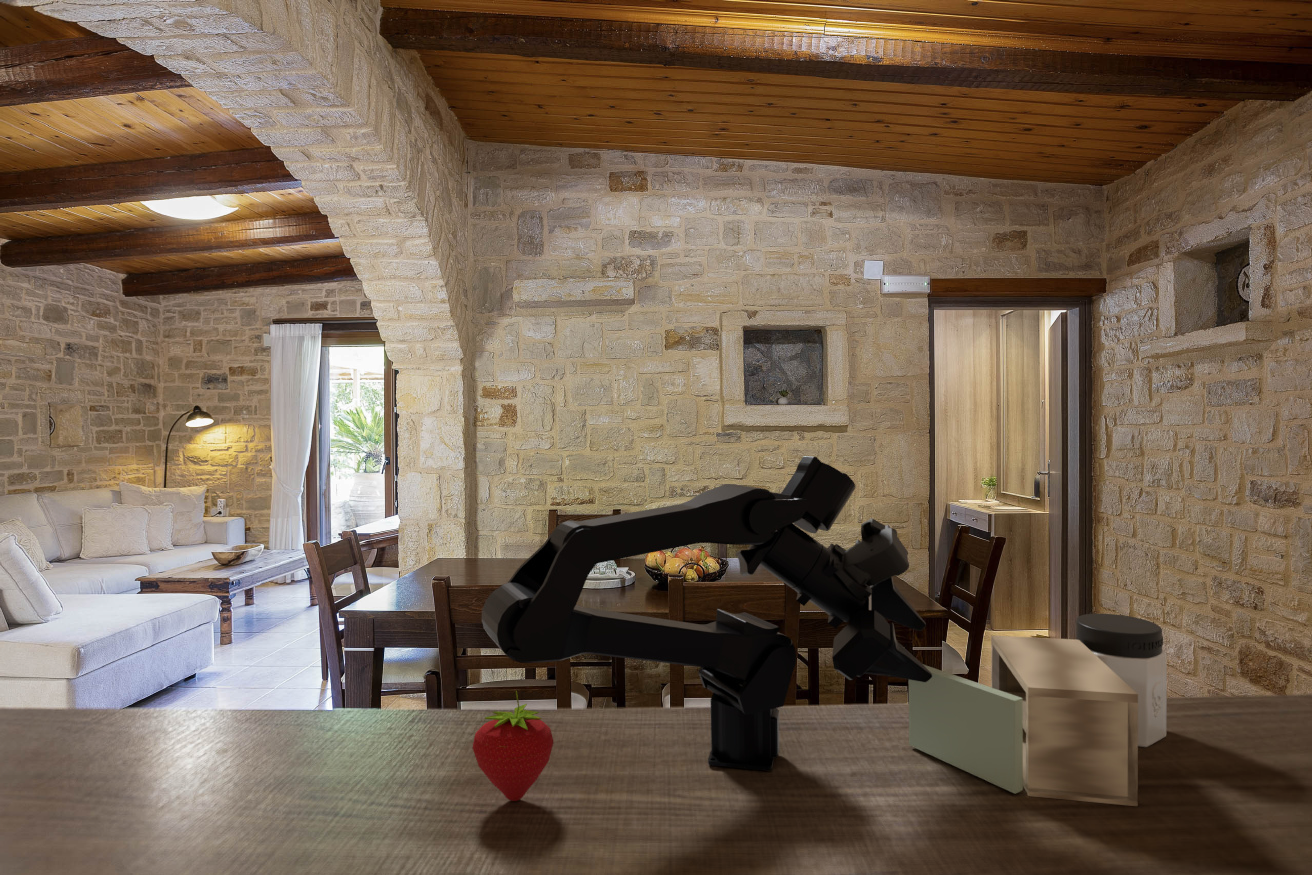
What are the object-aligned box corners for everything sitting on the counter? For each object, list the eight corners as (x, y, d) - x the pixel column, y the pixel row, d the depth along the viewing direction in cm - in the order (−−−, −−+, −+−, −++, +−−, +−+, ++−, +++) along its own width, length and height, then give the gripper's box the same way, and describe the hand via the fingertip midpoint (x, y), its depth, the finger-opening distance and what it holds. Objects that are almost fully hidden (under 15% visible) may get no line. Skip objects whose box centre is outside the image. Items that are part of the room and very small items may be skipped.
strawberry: (482, 783, 72) (479, 683, 72) (558, 782, 72) (556, 682, 72) (466, 817, 66) (463, 707, 66) (550, 815, 66) (547, 706, 66)
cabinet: (1028, 795, 68) (1028, 687, 68) (991, 723, 84) (991, 635, 83) (1137, 806, 66) (1137, 694, 66) (1078, 730, 81) (1078, 639, 81)
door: (1015, 793, 68) (1014, 700, 68) (908, 744, 78) (908, 664, 78) (1022, 789, 68) (1022, 697, 68) (916, 742, 79) (915, 661, 78)
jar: (1139, 754, 76) (1139, 639, 75) (1059, 727, 82) (1059, 621, 82) (1177, 732, 80) (1178, 624, 80) (1099, 708, 87) (1099, 608, 87)
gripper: (851, 555, 67) (993, 656, 66) (855, 479, 84) (968, 559, 83) (779, 633, 72) (911, 728, 71) (797, 545, 89) (903, 621, 88)
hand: (926, 651), depth 78 cm, fingers open, 9 cm apart
